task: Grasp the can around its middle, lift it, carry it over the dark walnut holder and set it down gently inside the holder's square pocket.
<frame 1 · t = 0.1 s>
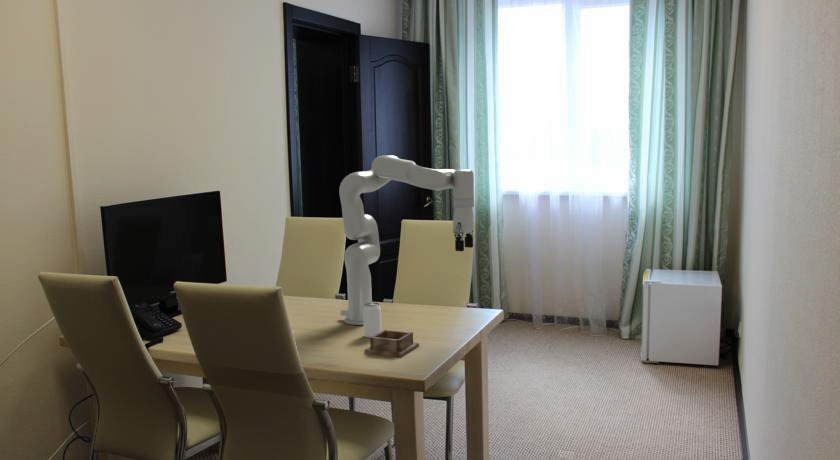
hand: (464, 249, 274), 31 cm above the table, tool pointing down, fingers open, 9 cm apart
can: (372, 336, 274), on the table
holder: (392, 349, 255), on the table
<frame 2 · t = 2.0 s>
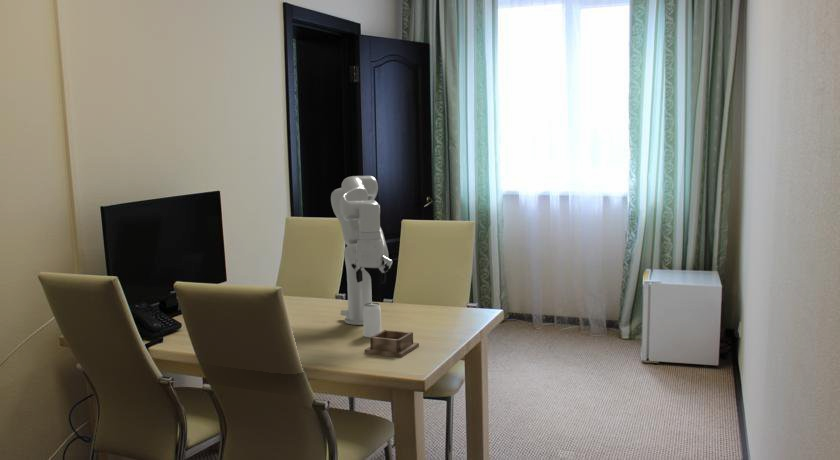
hand: (371, 282, 272), 20 cm above the table, tool pointing down, fingers open, 9 cm apart
nothing on the table moved.
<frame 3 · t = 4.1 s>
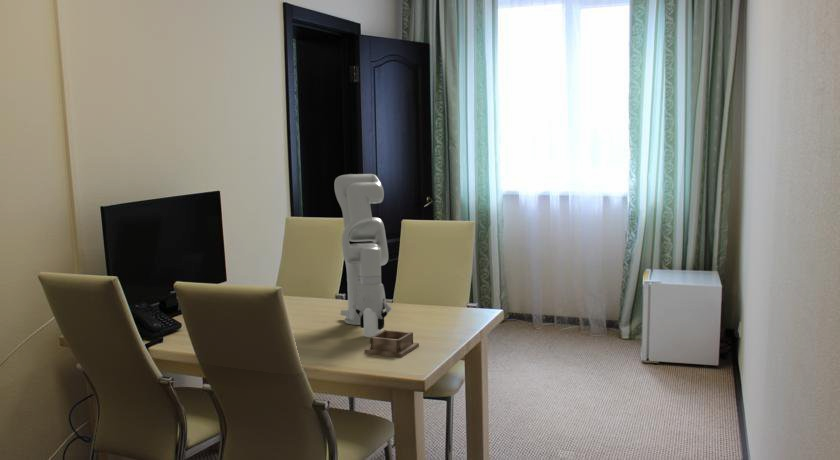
hand: (372, 327, 274), 3 cm above the table, tool pointing down, fingers closed on can, 6 cm apart
can: (372, 336, 274), on the table, touching gripper
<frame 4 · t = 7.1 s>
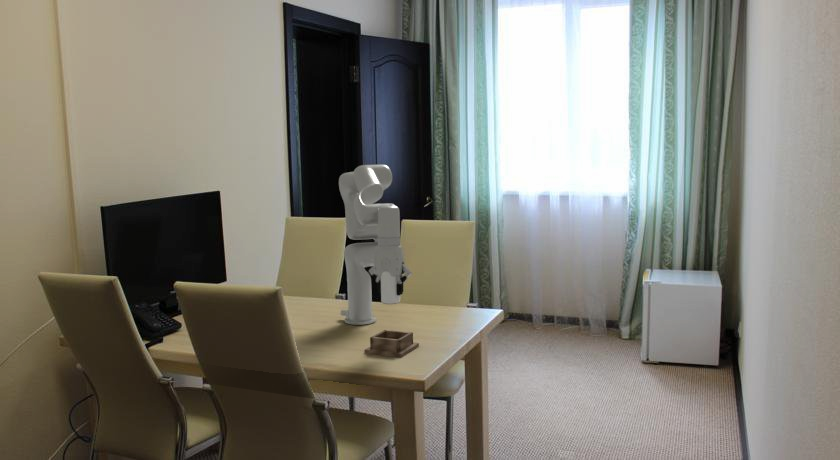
hand: (390, 293, 253), 20 cm above the table, tool pointing down, fingers closed on can, 6 cm apart
can: (390, 303, 254), point 16 cm above the table, touching gripper
when the fingers open (5 cm above the table, at t = 10.2 s): can drops 1 cm, resting on holder.
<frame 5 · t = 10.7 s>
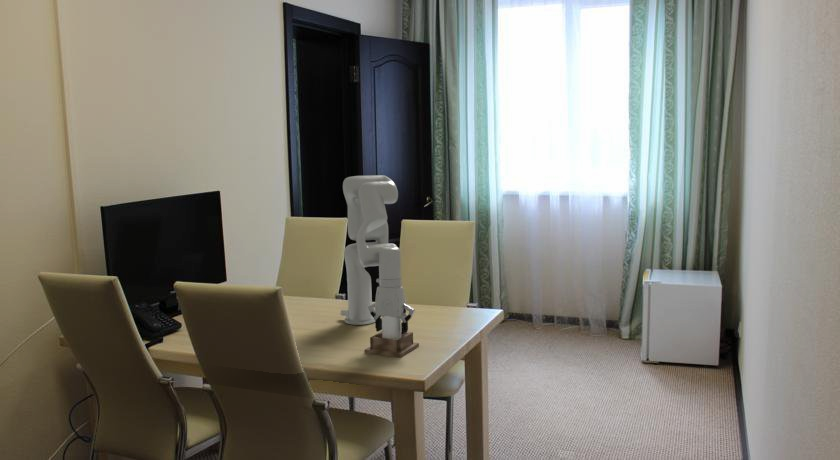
hand: (391, 331, 255), 6 cm above the table, tool pointing down, fingers open, 9 cm apart
can: (391, 346, 255), point 1 cm above the table, touching holder
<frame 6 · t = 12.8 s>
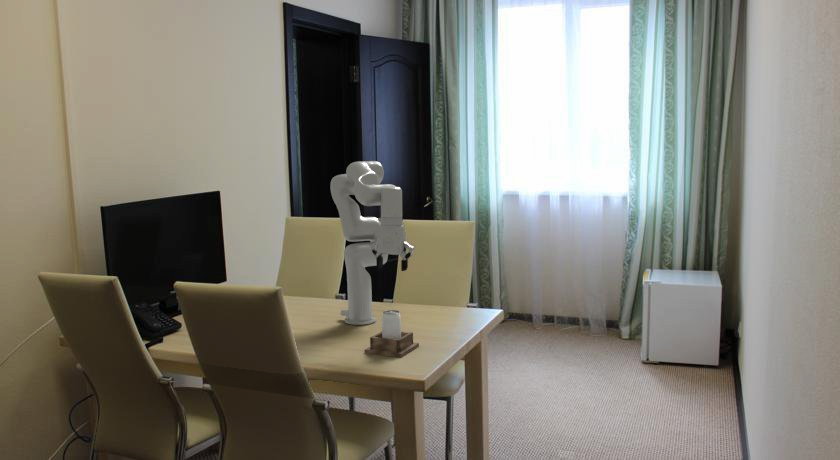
hand: (392, 269, 264), 26 cm above the table, tool pointing down, fingers open, 9 cm apart
nothing on the table moved.
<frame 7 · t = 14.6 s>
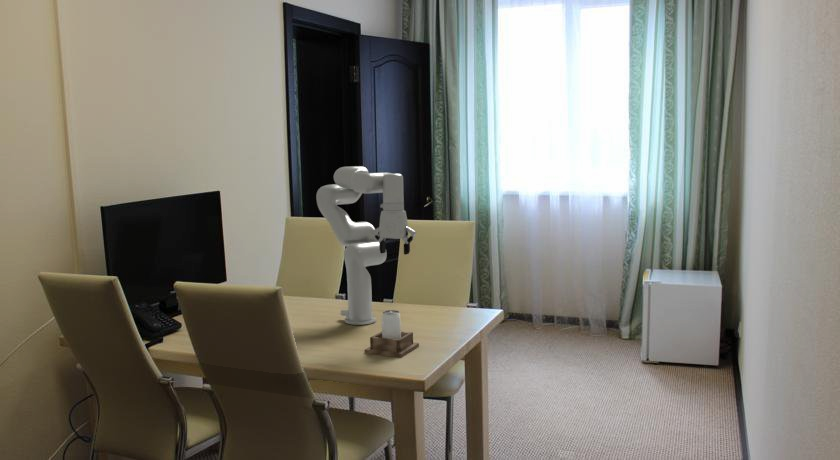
hand: (394, 253, 273), 30 cm above the table, tool pointing down, fingers open, 9 cm apart
nothing on the table moved.
at the end: can 0.1 cm off-centre on the holder, point 1.0 cm above the holder's base; can tilted 0°; the gripper is holding nothing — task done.
